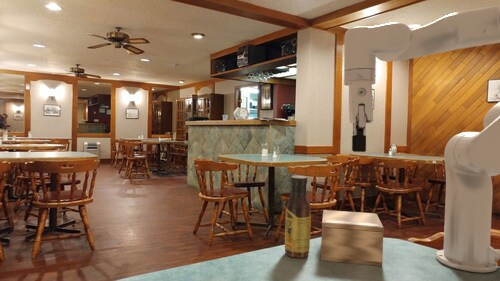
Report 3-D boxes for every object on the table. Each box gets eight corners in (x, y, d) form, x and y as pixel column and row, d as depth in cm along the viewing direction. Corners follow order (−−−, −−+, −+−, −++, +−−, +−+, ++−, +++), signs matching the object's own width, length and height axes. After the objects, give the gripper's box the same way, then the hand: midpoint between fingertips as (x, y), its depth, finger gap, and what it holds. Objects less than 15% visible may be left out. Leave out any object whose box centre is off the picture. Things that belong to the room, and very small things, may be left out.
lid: (376, 217, 96) (376, 212, 96) (383, 231, 82) (383, 226, 82) (323, 213, 99) (323, 209, 99) (321, 226, 85) (321, 221, 85)
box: (375, 246, 96) (376, 217, 96) (382, 266, 82) (383, 232, 82) (322, 242, 99) (323, 213, 99) (320, 260, 86) (321, 227, 85)
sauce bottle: (283, 249, 92) (285, 174, 92) (307, 250, 92) (309, 174, 91) (285, 259, 86) (287, 177, 85) (311, 260, 86) (313, 178, 85)
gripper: (380, 73, 81) (379, 153, 81) (370, 81, 95) (370, 149, 96) (346, 74, 82) (345, 153, 83) (342, 82, 97) (341, 149, 97)
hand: (358, 151), depth 89 cm, fingers closed
